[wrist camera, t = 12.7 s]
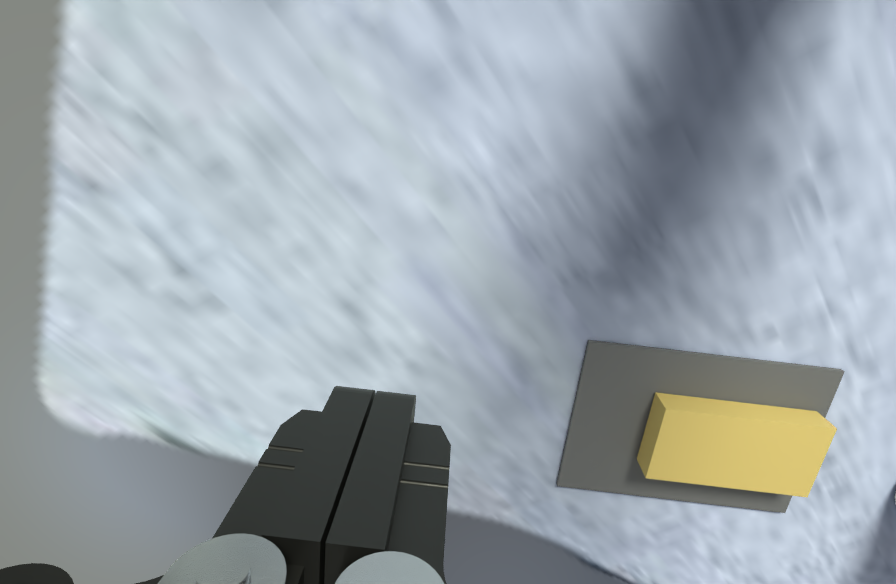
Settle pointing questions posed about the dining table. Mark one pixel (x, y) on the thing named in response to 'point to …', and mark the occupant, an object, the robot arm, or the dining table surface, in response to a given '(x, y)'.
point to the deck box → (734, 444)
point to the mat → (679, 373)
